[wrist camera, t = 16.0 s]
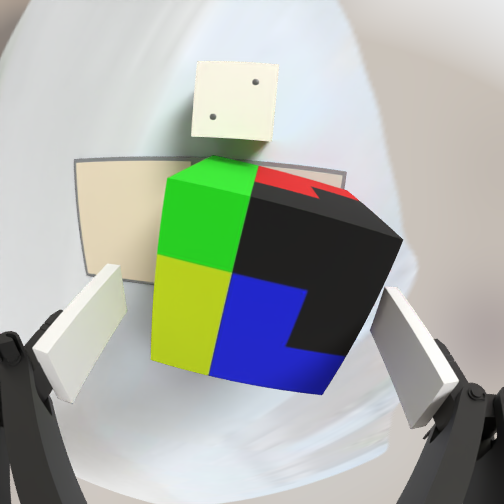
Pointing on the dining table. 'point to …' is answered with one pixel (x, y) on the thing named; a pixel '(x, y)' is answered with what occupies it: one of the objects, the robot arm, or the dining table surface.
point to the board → (140, 207)
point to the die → (234, 100)
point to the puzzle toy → (264, 275)
